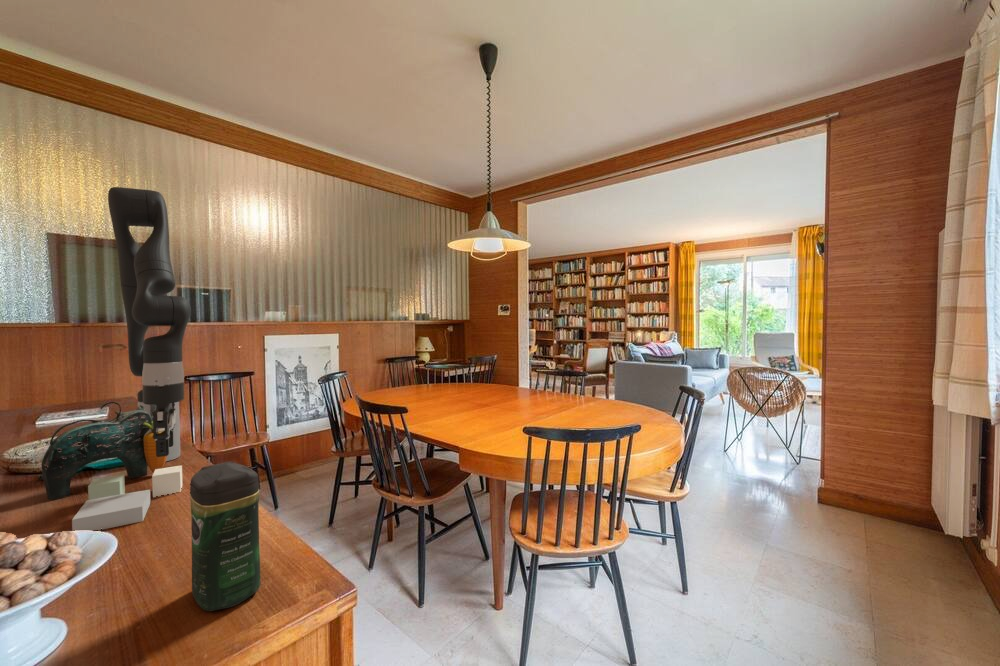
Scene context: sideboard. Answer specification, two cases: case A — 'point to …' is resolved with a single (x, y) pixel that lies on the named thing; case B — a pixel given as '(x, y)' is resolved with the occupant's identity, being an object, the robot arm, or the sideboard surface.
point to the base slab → (112, 511)
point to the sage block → (106, 487)
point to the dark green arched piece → (95, 448)
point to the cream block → (167, 480)
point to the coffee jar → (224, 535)
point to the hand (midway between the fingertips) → (165, 451)
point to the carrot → (152, 451)
